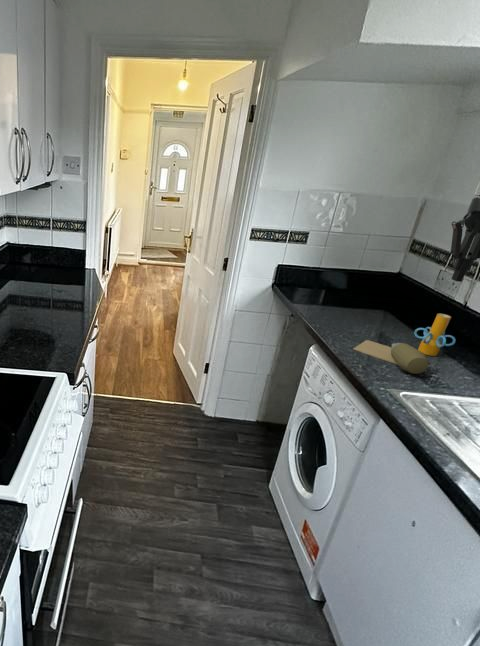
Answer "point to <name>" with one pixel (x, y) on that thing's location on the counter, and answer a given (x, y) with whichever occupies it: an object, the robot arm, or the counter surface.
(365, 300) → the counter surface
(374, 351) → the cork mat
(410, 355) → the squeeze bottle
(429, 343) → the orange cylinder with loops
